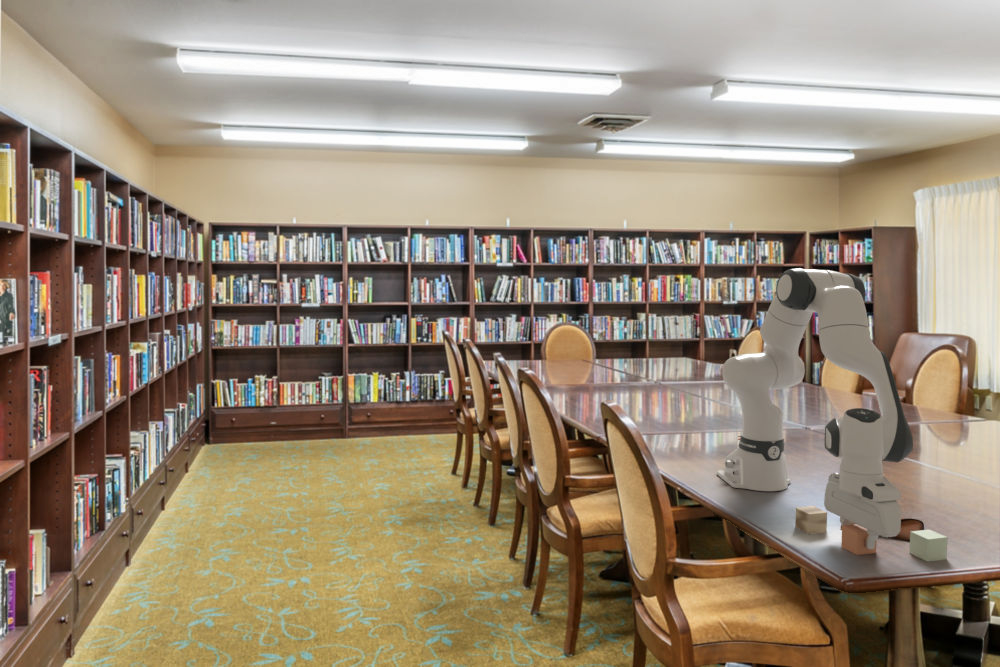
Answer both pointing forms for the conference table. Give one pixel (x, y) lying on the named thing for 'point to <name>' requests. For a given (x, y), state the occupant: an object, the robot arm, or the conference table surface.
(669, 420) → the conference table surface
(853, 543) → the rust block
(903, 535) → the sunglasses case
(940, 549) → the sage block
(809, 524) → the maple block
